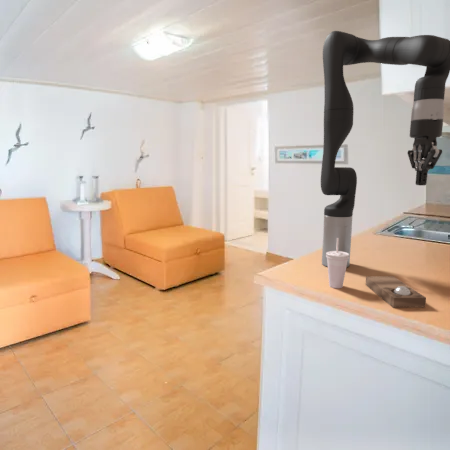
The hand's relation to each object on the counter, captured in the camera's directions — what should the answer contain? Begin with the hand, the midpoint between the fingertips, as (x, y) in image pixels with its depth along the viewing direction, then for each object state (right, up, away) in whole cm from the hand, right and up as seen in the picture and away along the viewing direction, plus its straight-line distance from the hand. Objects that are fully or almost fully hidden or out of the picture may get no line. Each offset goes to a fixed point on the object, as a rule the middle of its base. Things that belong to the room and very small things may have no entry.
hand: (420, 185), depth 101 cm
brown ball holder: (-8, -30, -1) cm, 31 cm away
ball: (-8, -28, -6) cm, 30 cm away
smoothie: (-21, -29, +6) cm, 36 cm away
